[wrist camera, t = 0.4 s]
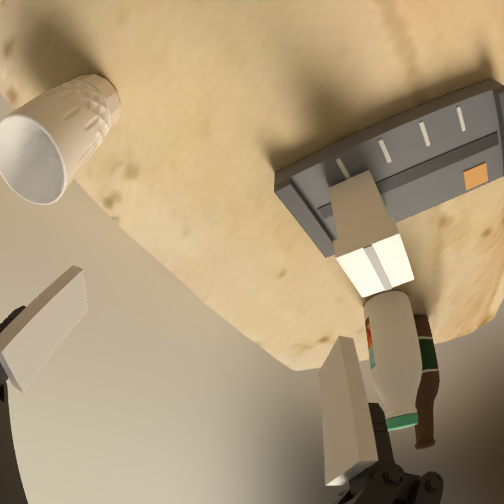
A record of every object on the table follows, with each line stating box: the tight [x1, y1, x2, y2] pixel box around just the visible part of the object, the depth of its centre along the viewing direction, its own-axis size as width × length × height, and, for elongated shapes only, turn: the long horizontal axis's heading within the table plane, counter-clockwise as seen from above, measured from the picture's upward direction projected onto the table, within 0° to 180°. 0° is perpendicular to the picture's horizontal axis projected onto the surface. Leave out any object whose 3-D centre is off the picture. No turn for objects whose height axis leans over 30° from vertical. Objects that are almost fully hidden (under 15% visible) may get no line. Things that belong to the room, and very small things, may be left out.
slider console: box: [274, 78, 504, 258], centre depth 22 cm, size 24×10×3 cm, turn 126°
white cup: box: [0, 74, 121, 205], centre depth 17 cm, size 8×8×10 cm
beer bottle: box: [413, 315, 440, 450], centre depth 38 cm, size 8×8×24 cm
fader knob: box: [328, 170, 414, 298], centre depth 22 cm, size 5×6×8 cm
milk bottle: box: [364, 291, 422, 430], centre depth 34 cm, size 8×8×20 cm
